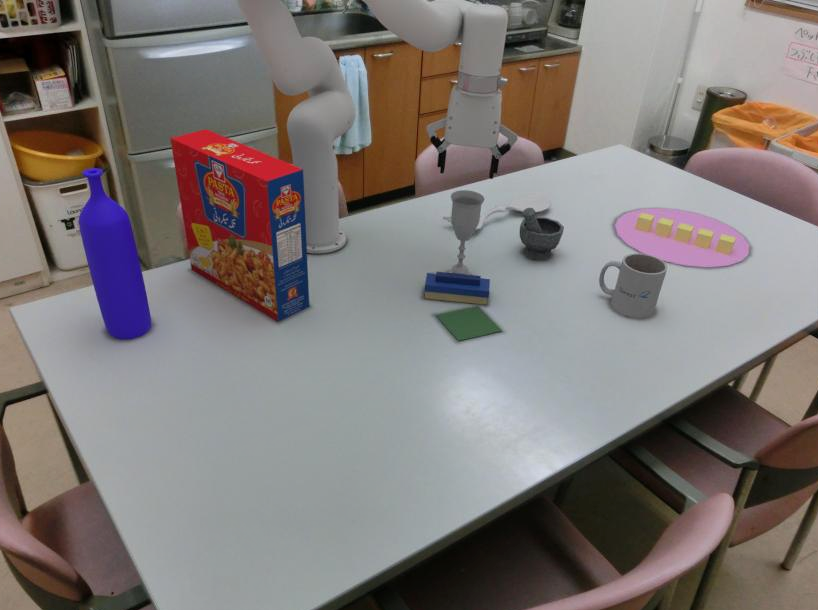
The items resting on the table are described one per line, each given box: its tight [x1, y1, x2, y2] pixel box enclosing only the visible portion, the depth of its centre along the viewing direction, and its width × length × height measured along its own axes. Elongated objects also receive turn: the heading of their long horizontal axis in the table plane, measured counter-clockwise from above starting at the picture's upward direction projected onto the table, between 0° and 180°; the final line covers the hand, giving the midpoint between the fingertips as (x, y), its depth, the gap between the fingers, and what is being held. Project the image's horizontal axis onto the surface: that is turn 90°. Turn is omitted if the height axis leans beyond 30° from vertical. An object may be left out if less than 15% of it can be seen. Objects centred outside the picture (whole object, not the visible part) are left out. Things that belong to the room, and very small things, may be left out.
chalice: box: [448, 189, 485, 275], centre depth 143 cm, size 7×7×18 cm
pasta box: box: [170, 128, 310, 323], centre depth 132 cm, size 28×8×28 cm, turn 49°
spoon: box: [442, 193, 552, 231], centre depth 171 cm, size 9×32×4 cm, turn 128°
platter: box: [614, 207, 750, 269], centre depth 168 cm, size 32×32×3 cm
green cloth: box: [435, 305, 503, 342], centre depth 134 cm, size 10×10×1 cm
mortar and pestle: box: [519, 208, 565, 261], centre depth 155 cm, size 11×9×12 cm
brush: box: [424, 271, 491, 306], centre depth 140 cm, size 13×5×5 cm, turn 83°
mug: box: [598, 252, 668, 319], centre depth 139 cm, size 12×9×10 cm
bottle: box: [78, 167, 152, 340], centre depth 118 cm, size 8×8×30 cm
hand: (466, 173), depth 135 cm, fingers open, 9 cm apart
